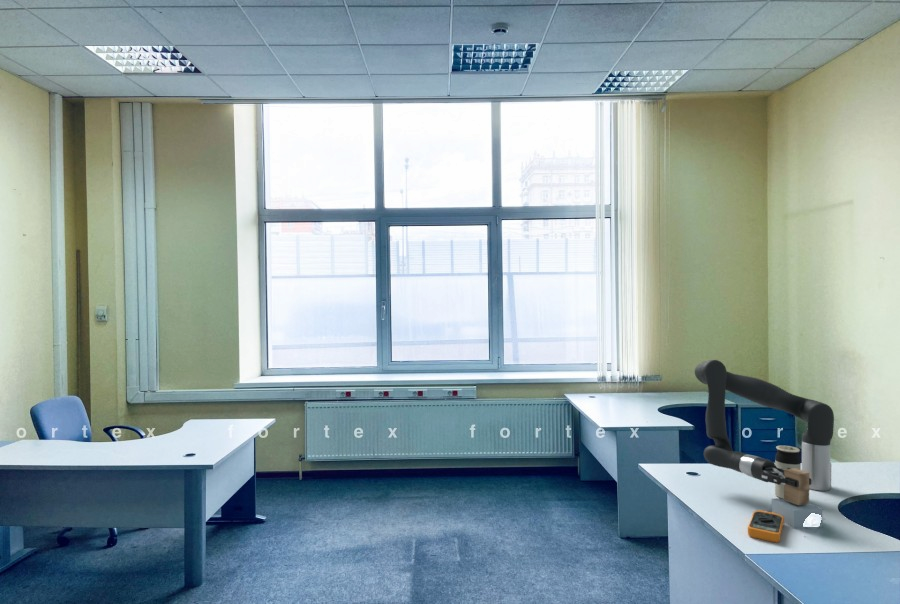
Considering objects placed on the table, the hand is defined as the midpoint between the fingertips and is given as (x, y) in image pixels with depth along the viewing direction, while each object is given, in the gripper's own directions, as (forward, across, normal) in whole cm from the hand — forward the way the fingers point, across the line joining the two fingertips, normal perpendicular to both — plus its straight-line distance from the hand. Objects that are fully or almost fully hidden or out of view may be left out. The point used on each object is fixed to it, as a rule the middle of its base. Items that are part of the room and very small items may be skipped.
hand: (804, 483), depth 176 cm
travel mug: (-19, +18, +14) cm, 29 cm away
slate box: (-3, 0, +14) cm, 14 cm away
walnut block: (-3, 0, +7) cm, 7 cm away
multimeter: (-2, -15, +14) cm, 21 cm away
